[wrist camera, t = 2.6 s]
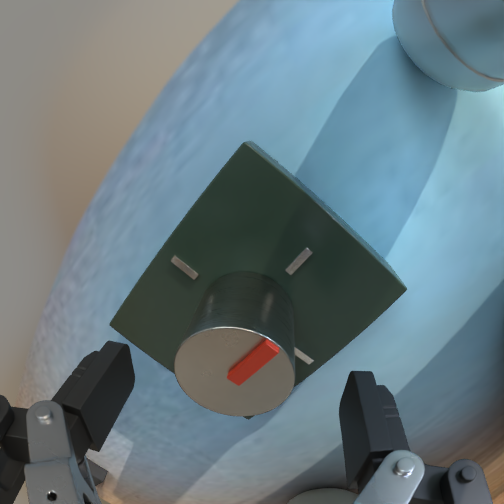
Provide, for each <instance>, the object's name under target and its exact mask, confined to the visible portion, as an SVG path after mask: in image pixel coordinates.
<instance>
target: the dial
mask: <svg viewBox="0 0 504 504" xmlns="http://www.w3.org/2000/svg"><path fill="white" fill-rule="evenodd" d="M174 372H175V376H176V379H177V381H178V383H179V385H180V387H181V388H182V389H183V391H184V392H185V393H186V394H187V395H188V396H189V397H190V398H191V399H192V400H194V401H195V402H196V403H198V404H199V405H201V406H203V407H205V408H207V409H209V410H211V411H214V412H217V413H220V414H224V415H230V416H253V415H258V414H262V413H265V412H268V411H270V410H272V409H274V408H276V407H277V406H279V405H280V404H281V403H283V402H284V401H285V400H286V399H287V398H288V396H289V395H290V393H291V391H292V389H293V387H294V383H295V346H294V317H293V307H292V303H291V301H290V298H289V296H288V295H287V293H286V292H285V291H284V289H283V288H282V287H281V286H280V285H279V284H278V283H276V282H275V281H273V280H272V279H270V278H268V277H266V276H263V275H261V274H257V273H252V272H236V273H231V274H227V275H225V276H222V277H221V278H219V279H217V280H216V281H214V282H213V283H212V284H211V285H210V286H209V287H208V288H207V290H206V291H205V293H204V295H203V297H202V299H201V301H200V303H199V305H198V307H197V309H196V311H195V313H194V316H193V318H192V320H191V322H190V324H189V326H188V328H187V330H186V332H185V334H184V337H183V339H182V341H181V343H180V345H179V347H178V349H177V351H176V354H175V357H174Z"/></svg>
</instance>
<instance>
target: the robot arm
mask: <svg viewBox="0 0 504 504" xmlns="http://www.w3.org/2000/svg"><path fill="white" fill-rule="evenodd" d="M134 382H135V374H134V369H133V364H132V359H131V354H130V349H129V346H128V345H127V344H123V343H118V342H113V341H108V342H106V343H105V345H104V346H103V347H102V349H101V350H100V351H99V352H98V351H94V352H92V353H91V354H89V355H87V356H86V357H84V358H83V360H82V361H81V362H80V364H79V365H78V366H77V368H76V369H75V370H74V371H73V372H72V375H70V376H69V378H68V379H67V380H66V381H65V383H64V384H63V385H62V387H61V388H60V389H59V391H58V392H57V393H56V394H55V396H54V397H53V398H52V400H51V401H48V400H45V401H40V402H37V403H35V404H34V405H32V406H31V407H30V408H29V409H25V408H17V407H11V406H10V404H9V402H8V400H7V399H6V398H5V397H4V396H2V395H0V447H1V448H0V504H13V503H14V501H15V499H16V497H17V495H18V493H19V491H20V489H21V487H22V485H23V483H24V481H26V487H27V493H28V499H29V504H102V503H101V501H100V499H99V496H98V494H97V491H96V488H95V485H94V481H93V478H92V475H91V472H90V468H89V465H88V461H87V458H86V456H85V454H86V452H87V450H88V448H89V449H92V450H95V451H98V452H99V451H100V449H101V447H102V446H103V444H104V442H105V440H106V438H107V436H108V434H109V432H110V430H111V429H112V427H113V425H114V423H115V421H116V419H117V417H118V416H119V414H120V412H121V410H122V408H123V406H124V404H125V403H126V401H127V399H128V397H129V395H130V393H131V392H132V390H133V387H134ZM339 418H340V426H341V433H342V441H343V449H344V458H345V467H346V476H347V486H348V489H356V488H358V493H359V495H358V497H357V498H356V499H355V501H354V502H353V503H352V504H493V502H492V498H491V495H490V492H489V488H488V485H487V482H486V478H485V475H484V472H483V470H482V468H481V467H480V466H479V464H477V463H476V462H474V461H472V460H469V459H461V460H458V461H456V462H454V463H453V464H452V465H451V466H450V467H449V468H445V467H437V466H430V465H426V464H424V463H423V461H422V459H421V458H420V457H419V456H418V455H416V454H415V453H413V452H411V451H410V449H409V446H408V442H407V439H406V435H405V432H404V429H403V426H402V422H401V419H400V417H399V413H398V410H397V408H396V403H395V400H394V397H393V395H392V394H391V392H390V391H389V390H388V389H387V388H386V387H385V386H384V385H376V382H375V378H374V375H373V373H372V372H371V371H351V372H350V374H349V377H348V380H347V383H346V386H345V389H344V392H343V395H342V398H341V401H340V407H339Z"/></svg>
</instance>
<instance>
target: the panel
mask: <svg viewBox="0 0 504 504" xmlns="http://www.w3.org/2000/svg"><path fill="white" fill-rule="evenodd" d="M236 272H252V273H257V274H261V275H263V276H266V277H268V278H270V279H272V280H273V281H275V282H276V283H278V284H279V285H280V286H281V287H282V288H283V289H284V291H285V292H286V293H287V295H288V296H289V298H290V301H291V303H292V307H293V317H294V346H295V383H294V387H295V386H296V385H298V384H299V383H300V382H302V381H303V380H304V379H305V378H307V377H308V376H309V375H311V374H312V373H313V372H314V371H316V370H317V369H318V368H320V367H321V366H322V365H323V364H324V363H326V362H327V361H328V360H329V359H331V358H332V357H333V356H334V355H335V354H337V353H338V352H339V351H340V350H341V349H343V348H344V347H345V346H346V345H347V344H349V343H350V342H351V341H352V340H353V339H354V338H355V337H357V336H358V335H359V334H360V333H361V332H362V331H363V330H365V329H366V328H367V327H368V326H369V325H370V324H371V323H372V322H373V321H375V320H376V319H377V318H378V317H379V316H380V315H381V314H382V313H383V312H384V311H385V310H386V309H388V308H389V307H390V306H391V305H392V304H393V303H394V302H395V301H396V300H397V299H398V298H399V297H400V296H401V295H402V294H403V293H404V292H405V291H406V290H407V288H406V286H405V285H404V284H403V282H402V281H401V279H400V278H399V277H398V275H397V274H396V273H395V271H394V270H393V269H392V267H391V266H390V265H389V264H388V263H387V262H386V261H385V260H384V259H383V258H382V257H381V256H380V255H379V254H378V253H377V252H376V251H375V250H374V249H373V248H372V247H371V246H370V245H369V244H368V243H367V242H366V241H365V240H364V239H363V238H362V237H361V236H360V235H359V234H357V233H356V232H355V231H354V230H353V229H352V228H351V227H350V226H349V225H348V224H347V223H346V222H345V221H344V220H343V219H341V218H340V217H339V216H338V215H337V214H336V213H335V212H334V211H333V210H332V209H331V208H330V207H328V206H327V205H326V204H325V203H324V202H323V201H322V200H321V199H320V198H318V197H317V196H316V195H315V194H314V193H313V192H312V191H311V190H309V189H308V188H307V187H306V186H305V185H304V184H303V183H301V182H300V181H299V180H298V179H297V178H296V177H294V176H293V175H292V174H291V173H290V172H289V171H287V170H286V169H285V168H284V167H283V166H282V165H280V164H279V163H278V162H277V161H276V160H274V159H273V158H272V157H271V156H270V155H268V154H267V153H266V152H265V151H263V150H262V149H261V148H260V147H259V146H257V145H256V144H255V143H254V142H252V141H249V142H244V143H243V144H242V145H241V146H240V147H239V148H238V150H237V151H236V152H235V153H234V154H233V156H232V157H231V158H230V159H229V161H228V162H227V163H226V164H225V165H224V167H223V168H222V169H221V170H220V172H219V173H218V174H217V175H216V177H215V178H214V179H213V180H212V182H211V183H210V184H209V186H208V187H207V188H206V189H205V191H204V192H203V193H202V194H201V196H200V197H199V198H198V200H197V201H196V202H195V204H194V205H193V206H192V207H191V209H190V210H189V211H188V213H187V214H186V215H185V217H184V218H183V219H182V221H181V222H180V223H179V225H178V226H177V227H176V229H175V230H174V231H173V233H172V234H171V235H170V237H169V238H168V240H167V241H166V242H165V244H164V245H163V246H162V248H161V249H160V251H159V252H158V253H157V255H156V256H155V258H154V259H153V260H152V262H151V263H150V265H149V266H148V267H147V269H146V270H145V272H144V273H143V275H142V276H141V277H140V279H139V280H138V282H137V283H136V285H135V286H134V288H133V289H132V291H131V292H130V294H129V295H128V296H127V298H126V299H125V301H124V302H123V304H122V305H121V307H120V308H119V310H118V311H117V313H116V315H115V316H114V318H113V319H112V321H111V322H110V326H111V327H112V328H114V329H115V330H116V331H117V332H119V333H120V334H121V335H122V336H124V337H125V338H126V339H128V340H129V341H130V342H132V343H133V344H134V345H135V346H137V347H138V348H139V349H141V350H142V351H143V352H145V353H146V354H148V355H149V356H150V357H152V358H153V359H154V360H156V361H157V362H159V363H160V364H161V365H163V366H164V367H166V368H167V369H169V370H170V371H171V372H173V373H174V374H175V372H174V357H175V354H176V351H177V349H178V347H179V345H180V343H181V341H182V339H183V337H184V334H185V332H186V330H187V328H188V326H189V324H190V322H191V320H192V318H193V316H194V313H195V311H196V309H197V307H198V305H199V303H200V301H201V299H202V297H203V295H204V293H205V291H206V290H207V288H208V287H209V286H210V285H211V284H212V283H213V282H214V281H216V280H217V279H219V278H221V277H222V276H225V275H227V274H231V273H236ZM294 387H293V388H294ZM253 416H255V415H253ZM253 416H243V417H244V418H246V419H250V418H252V417H253Z"/></svg>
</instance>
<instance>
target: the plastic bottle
mask: <svg viewBox="0 0 504 504" xmlns="http://www.w3.org/2000/svg"><path fill="white" fill-rule="evenodd" d="M392 19H393V24H394V28H395V32H396V34H397V37H398V39H399V41H400V43H401V45H402V47H403V48H404V50H405V52H406V53H407V55H408V56H409V57H410V59H411V60H412V61H413V62H414V63H415V64H416V65H417V66H418V68H419V69H420V70H421V71H422V72H424V73H425V74H426V75H428V76H429V77H430V78H431V79H433V80H435V81H436V82H438V83H440V84H442V85H444V86H447V87H450V88H453V89H459V90H466V91H472V92H483V91H487V90H490V89H492V88H495V87H498V86H501V85H503V84H504V0H394V4H393V8H392Z"/></svg>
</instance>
